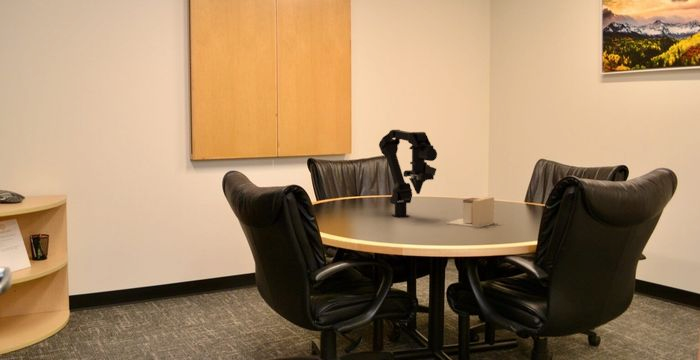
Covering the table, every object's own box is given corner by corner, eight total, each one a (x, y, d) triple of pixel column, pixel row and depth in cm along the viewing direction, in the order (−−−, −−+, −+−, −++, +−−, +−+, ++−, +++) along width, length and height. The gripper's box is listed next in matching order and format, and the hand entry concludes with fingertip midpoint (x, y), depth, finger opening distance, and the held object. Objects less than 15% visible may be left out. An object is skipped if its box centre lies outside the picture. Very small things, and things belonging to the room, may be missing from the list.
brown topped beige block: (462, 222, 276) (463, 199, 275) (471, 219, 282) (472, 197, 281) (471, 223, 274) (471, 200, 273) (480, 220, 280) (480, 198, 279)
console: (445, 223, 278) (446, 197, 277) (461, 219, 289) (461, 194, 288) (478, 227, 268) (479, 200, 267) (493, 223, 279) (494, 197, 278)
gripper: (444, 160, 281) (443, 195, 283) (424, 157, 298) (424, 190, 300) (421, 161, 277) (421, 196, 278) (403, 158, 294) (402, 191, 296)
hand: (418, 193), depth 288 cm, fingers closed
